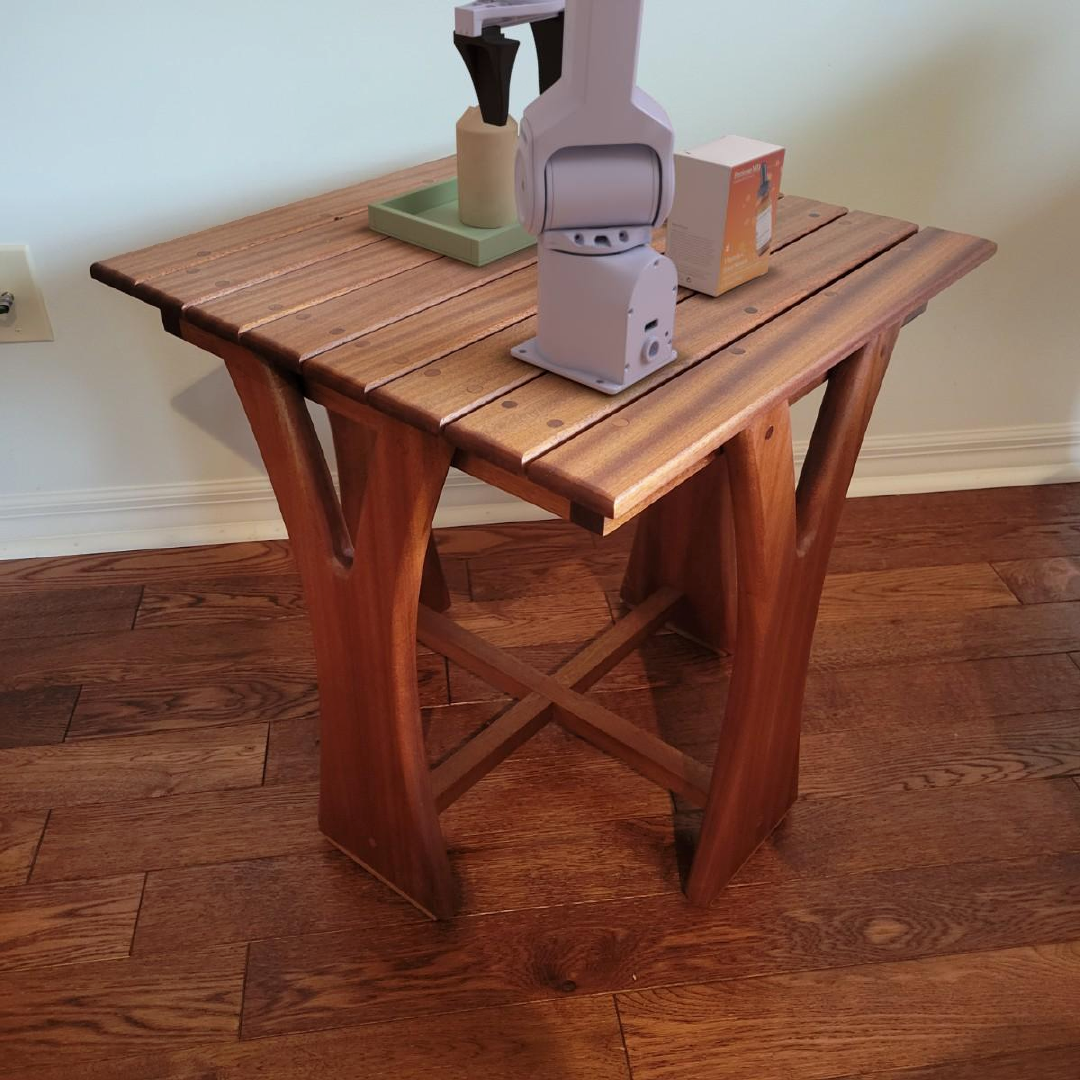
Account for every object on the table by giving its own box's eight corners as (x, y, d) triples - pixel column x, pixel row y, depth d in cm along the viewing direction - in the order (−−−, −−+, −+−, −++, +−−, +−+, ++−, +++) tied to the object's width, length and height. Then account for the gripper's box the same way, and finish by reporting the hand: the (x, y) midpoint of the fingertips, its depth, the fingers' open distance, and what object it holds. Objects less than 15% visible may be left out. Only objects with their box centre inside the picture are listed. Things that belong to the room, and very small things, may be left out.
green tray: (604, 215, 104) (605, 190, 103) (478, 267, 93) (478, 240, 92) (498, 184, 111) (497, 161, 110) (369, 229, 100) (367, 204, 99)
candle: (510, 231, 99) (510, 116, 93) (451, 226, 100) (448, 112, 94) (523, 211, 104) (524, 100, 98) (467, 206, 105) (464, 96, 99)
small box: (715, 299, 88) (730, 167, 82) (660, 280, 91) (670, 152, 85) (770, 272, 93) (788, 145, 87) (715, 255, 96) (729, 131, 90)
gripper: (545, -78, 93) (542, 91, 100) (423, -62, 83) (431, 123, 91) (611, -70, 89) (603, 105, 97) (492, -52, 80) (494, 139, 88)
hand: (524, 115), depth 94 cm, fingers open, 7 cm apart
